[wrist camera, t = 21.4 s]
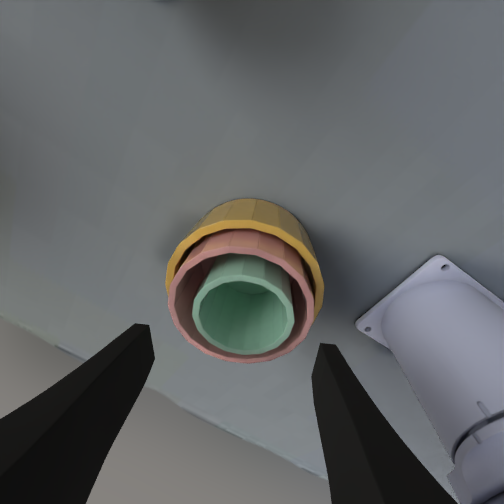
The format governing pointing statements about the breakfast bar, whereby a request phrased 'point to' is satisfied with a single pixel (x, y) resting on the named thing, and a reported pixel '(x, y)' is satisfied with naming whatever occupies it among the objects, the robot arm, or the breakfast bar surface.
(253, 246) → the stack top
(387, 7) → the breakfast bar surface
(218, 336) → the mint cup
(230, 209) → the stack bottom
